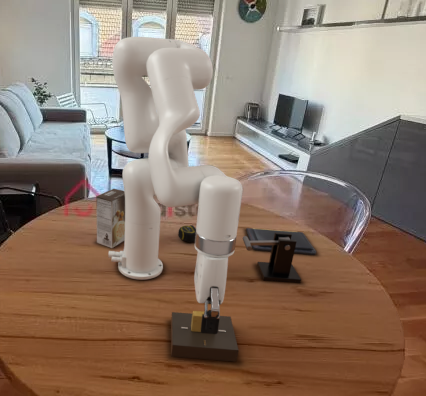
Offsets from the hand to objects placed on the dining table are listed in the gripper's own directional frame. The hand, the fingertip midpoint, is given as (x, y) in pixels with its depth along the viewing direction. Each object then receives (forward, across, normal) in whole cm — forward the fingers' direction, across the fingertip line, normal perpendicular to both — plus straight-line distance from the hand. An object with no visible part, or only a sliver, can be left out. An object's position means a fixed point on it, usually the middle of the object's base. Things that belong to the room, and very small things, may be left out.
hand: (206, 316), depth 75 cm
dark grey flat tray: (+6, -50, +30) cm, 58 cm away
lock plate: (+7, 0, 0) cm, 7 cm away
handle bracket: (+7, -30, +24) cm, 38 cm away
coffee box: (+6, -42, -25) cm, 50 cm away
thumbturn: (+4, 0, 0) cm, 4 cm away
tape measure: (+6, -48, 0) cm, 48 cm away
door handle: (-2, -29, +19) cm, 35 cm away
